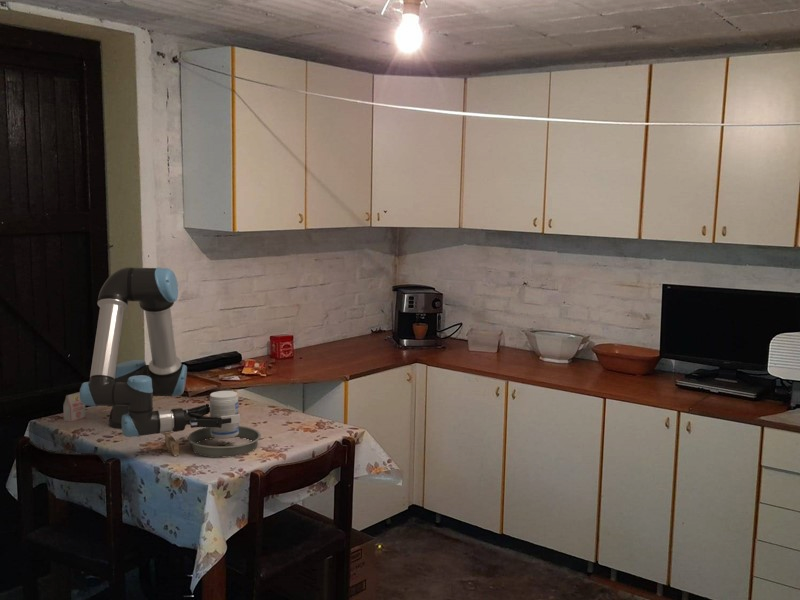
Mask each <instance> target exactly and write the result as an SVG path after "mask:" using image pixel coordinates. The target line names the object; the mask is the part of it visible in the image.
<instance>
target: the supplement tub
mask: <svg viewBox="0 0 800 600" xmlns="http://www.w3.org/2000/svg"><path fill="white" fill-rule="evenodd" d="M209 407H210V412H209V417H218V418H221V416H229V415H238V414H240V412H239V394H238V392H237V391H233V390H219V391H213V392H211V393H210V394H209ZM217 423H218V422H217ZM239 426H240V423H233V424H225V425H222V428H219V427H210V428H211V436H212V437H214V438H213V439H218V440H224V439H225V440H226V439H232V438H236V437H235V436H237V435H238V434H239Z"/></svg>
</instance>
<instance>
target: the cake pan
mask: <svg viewBox="0 0 800 600" xmlns="http://www.w3.org/2000/svg"><path fill="white" fill-rule="evenodd" d="M236 437H240V438H239V439H243V438H246V439H245V440H247V439H249V440H248V441H250V440H252V441H250V442H246V443H242V444H238V445H237V444H236V445H230V446H229V445H228V446H212V445H204V444H200V442H199V441H201V442H203V441H202V440H204V441H206V440H205V439H208V440H211V439H210V438H213V439H215V438H214V437H212V436H211V428H210V427H201V428H199V429H196V430H194V431H192V432H191V433H189V434H188V435H187V441H188V442H189V443H190V444H191V448H192V451H193V450H194V451H195V452H196V453H195V452H194V451H193V452H194V453H195V454H197V453H199V454H198V455H200V454H201V455H200V456H203V455H206V456H205V457H209V456H213V457H212V458H223V457H222V456H231V457H236V455H238V456H242V455H245V453H246V454H249V453H250V451H251V452H252V451H254V450H255V449H256V446H257V443H258V441H260V439H261V438H262V433H261V432H260V431H258V430H257V429H255V428H252V427H249V426H245V425H244V426H243V425H239V434H238V435H237V436H235V437H234V438H236ZM197 442H199V443H197ZM253 449H254V450H253ZM220 456H221V457H220Z"/></svg>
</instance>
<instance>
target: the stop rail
mask: <svg viewBox="0 0 800 600" xmlns="http://www.w3.org/2000/svg"><path fill="white" fill-rule="evenodd" d="M165 444H166V445H167V446H166V445H165ZM164 445H165V446H166V448H167V447H168V448H169V449H170V450H169V449H168V448H167V449H168V450H169V452H170V451H171V452H172V453H173V454H172V453H171V452H170V453H171V454H172V456H173V455H174V456H175V455H176V457H178V456H177V455H179V456H180V444H179V442H177V441H176V439H175V438H174V437H173V435H172V434H171V432H165V433H164ZM174 456H173V457H174Z"/></svg>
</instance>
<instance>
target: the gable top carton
mask: <svg viewBox="0 0 800 600" xmlns="http://www.w3.org/2000/svg"><path fill="white" fill-rule="evenodd" d="M62 407H63V421H64V422H68V423H73V422H77V421H81V420H83V419H87V418H86V405H83V404H82V403H81V401H80V391H79V392H75V393H71V394H66V395H65V399H64V402H63V406H62Z"/></svg>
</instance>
